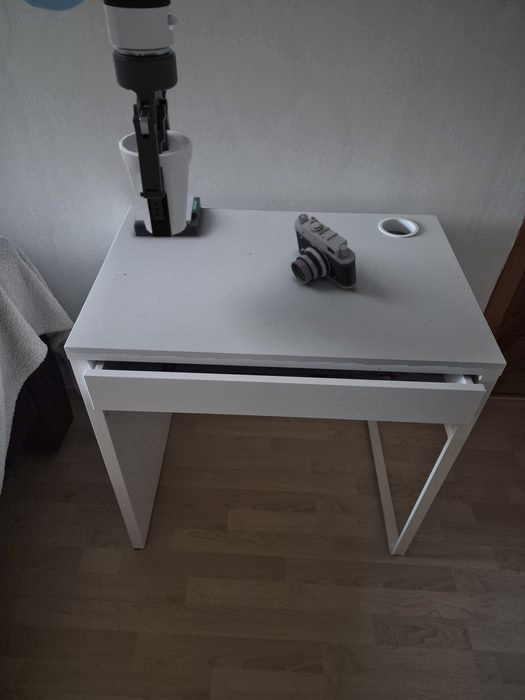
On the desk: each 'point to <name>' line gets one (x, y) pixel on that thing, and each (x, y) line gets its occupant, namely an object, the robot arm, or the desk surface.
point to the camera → (322, 254)
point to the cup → (174, 176)
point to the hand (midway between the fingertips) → (165, 220)
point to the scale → (191, 219)
